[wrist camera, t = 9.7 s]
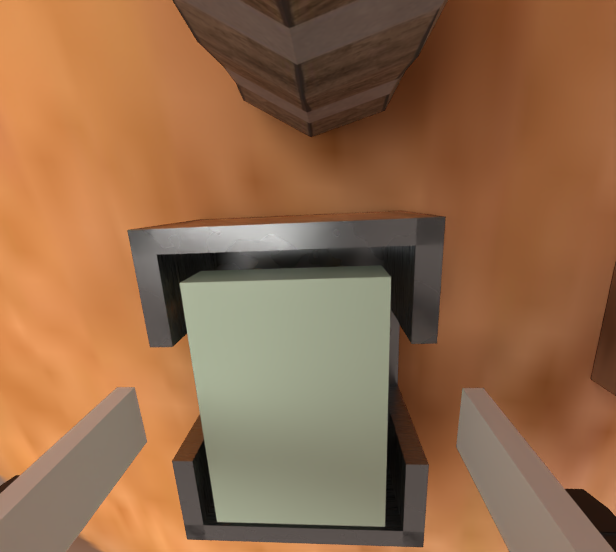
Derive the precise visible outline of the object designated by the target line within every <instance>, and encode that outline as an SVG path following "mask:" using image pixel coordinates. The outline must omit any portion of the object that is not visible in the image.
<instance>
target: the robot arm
mask: <svg viewBox="0 0 616 552" xmlns="http://www.w3.org/2000/svg"><path fill="white" fill-rule="evenodd" d="M146 442H147V439H146V435H145V430H144V426H143V422H142V417H141V413H140V409H139V404H138V400H137V396H136V392H135V387H117V388H116V389H115V390H114V391H112V392H111V393H110V394H109V395H108V396H107V397H106V398H105V399H104V400H103V401H101V402H100V403H99V404H98V405H97V406H96V407H95V408H94V409H93V410H92V411H90V412H89V413H88V414H87V415H86V416H85V417H84V418H83V419H82V420H81V421H79V422H78V423H77V424H76V425H75V426H74V427H73V428H72V429H71V430H70V431H68V432H67V433H66V434H65V435H64V436H63V437H62V438H61V439H60V440H59V441H57V442H56V443H55V444H54V445H53V446H52V447H51V448H50V449H49V450H48V451H47V452H45V453H44V454H43V455H42V456H41V457H40V458H39V459H38V460H37V461H36V462H34V463H33V464H32V465H31V466H30V467H29V468H28V469H27V470H26V471H25V472H23V473H22V474H21V475H16V476H14V477H13V478H11V479H10V480H8V481H7V482H5V483H4V484H2V485H1V486H0V552H66V551H67V550H68V549H69V547H70V546H71V544H72V543H73V542H74V540H75V539H76V538H77V536H78V535H79V534H80V532H81V531H82V530H83V528H84V527H85V525H86V524H87V523H88V521H89V520H90V519H91V517H92V516H93V515H94V513H95V512H96V510H97V509H98V508H99V506H100V505H101V504H102V502H103V501H104V500H105V498H106V497H107V495H108V494H109V493H110V491H111V490H112V489H113V487H114V486H115V485H116V483H117V482H118V481H119V479H120V478H121V476H122V475H123V474H124V472H125V471H126V470H127V468H128V467H129V466H130V464H131V463H132V461H133V460H134V459H135V457H136V456H137V455H138V453H139V452H140V451H141V449H142V448H143V447H144V445H145V444H146ZM456 447H457V449H458V451H459V453H460V455H461V457H462V459H463V461H464V463H465V465H466V467H467V469H468V471H469V473H470V475H471V477H472V479H473V481H474V483H475V485H476V487H477V489H478V491H479V492H480V494H481V496H482V498H483V500H484V502H485V504H486V506H487V508H488V510H489V512H490V514H491V516H492V518H493V520H494V522H495V524H496V526H497V528H498V530H499V532H500V534H501V536H502V538H503V540H504V542H505V544H506V546H507V548H508V550H509V552H616V516H615V515H614V514H613V513H612V512H611V511H610V510H609V509H608V508H607V507H606V506H604V505H603V504H602V503H600V502H599V501H598V500H597V499H595V498H594V497H593V496H591V495H590V494H589V493H587V492H586V491H585V490H584V489H564V488H563V486H562V485H561V484H560V483H559V481H558V480H557V479H556V478H555V477H554V475H553V474H552V473H551V472H550V470H549V469H548V468H547V467H546V465H545V464H544V463H543V462H542V460H541V459H540V458H539V457H538V455H537V454H536V453H535V452H534V450H533V449H532V448H531V447H530V445H529V444H528V443H527V442H526V440H525V439H524V438H523V437H522V435H521V434H520V433H519V432H518V430H517V429H516V428H515V427H514V425H513V424H512V423H511V422H510V420H509V419H508V418H507V417H506V415H505V414H504V413H503V412H502V411H501V409H500V408H499V407H498V406H497V404H496V403H495V402H494V401H493V399H492V398H491V397H490V396H489V394H488V393H487V392H486V391H485V389H484V388H462V397H461V406H460V416H459V425H458V435H457V444H456Z"/></svg>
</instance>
